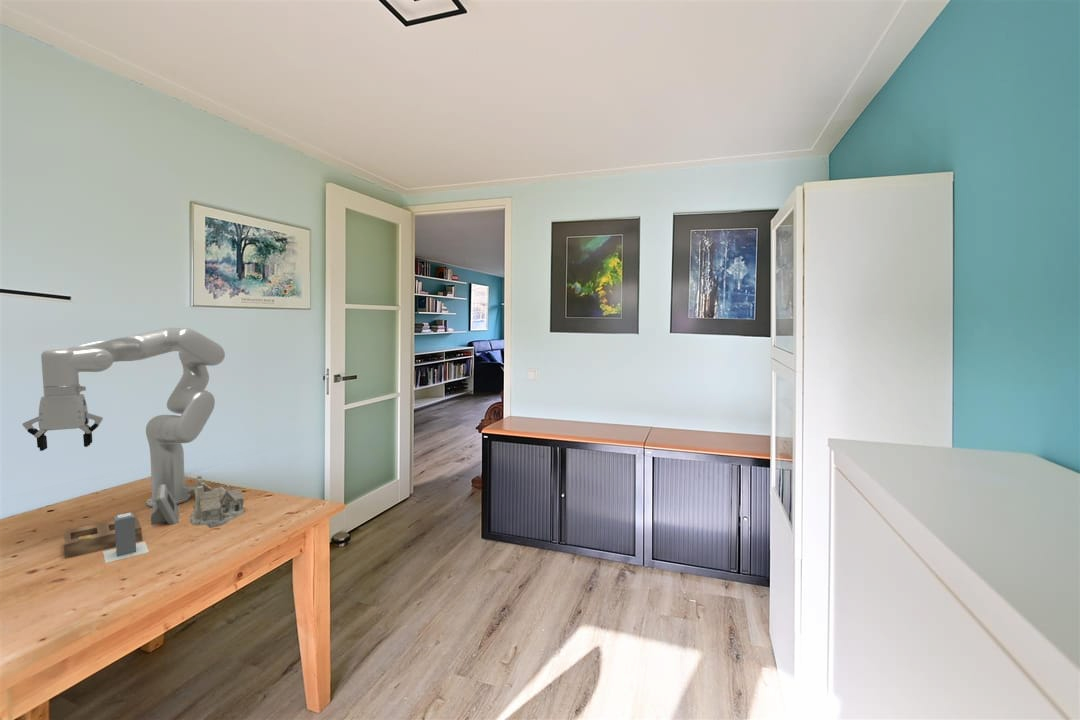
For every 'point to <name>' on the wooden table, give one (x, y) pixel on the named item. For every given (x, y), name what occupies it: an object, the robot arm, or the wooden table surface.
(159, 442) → the robot arm
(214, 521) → the ceramic cottage
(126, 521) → the plug
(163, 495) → the digital clock
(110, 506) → the wooden table surface
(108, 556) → the tray
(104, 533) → the socket block
